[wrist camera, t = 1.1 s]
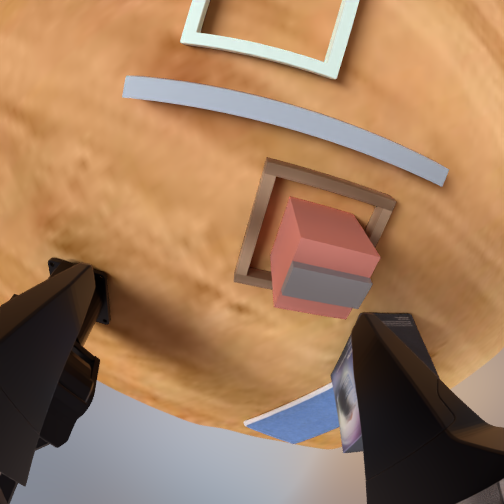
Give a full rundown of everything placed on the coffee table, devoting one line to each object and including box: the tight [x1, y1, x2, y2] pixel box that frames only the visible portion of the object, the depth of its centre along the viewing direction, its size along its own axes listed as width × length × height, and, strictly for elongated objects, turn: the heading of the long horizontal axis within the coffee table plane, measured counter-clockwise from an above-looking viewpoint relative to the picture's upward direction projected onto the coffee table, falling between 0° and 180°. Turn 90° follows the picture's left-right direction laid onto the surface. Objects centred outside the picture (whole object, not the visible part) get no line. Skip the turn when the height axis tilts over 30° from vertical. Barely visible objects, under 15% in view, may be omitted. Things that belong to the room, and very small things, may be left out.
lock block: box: [270, 196, 381, 319], centre depth 19 cm, size 5×5×7 cm
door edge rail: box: [122, 76, 449, 187], centre depth 17 cm, size 1×22×2 cm, turn 76°
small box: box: [331, 313, 439, 453], centre depth 25 cm, size 11×6×10 cm, turn 175°
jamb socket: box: [234, 157, 396, 290], centre depth 22 cm, size 10×10×1 cm
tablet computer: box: [244, 382, 339, 444], centre depth 37 cm, size 19×13×1 cm, turn 134°
